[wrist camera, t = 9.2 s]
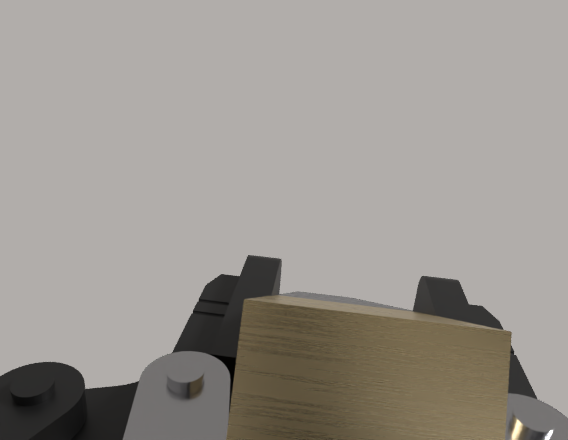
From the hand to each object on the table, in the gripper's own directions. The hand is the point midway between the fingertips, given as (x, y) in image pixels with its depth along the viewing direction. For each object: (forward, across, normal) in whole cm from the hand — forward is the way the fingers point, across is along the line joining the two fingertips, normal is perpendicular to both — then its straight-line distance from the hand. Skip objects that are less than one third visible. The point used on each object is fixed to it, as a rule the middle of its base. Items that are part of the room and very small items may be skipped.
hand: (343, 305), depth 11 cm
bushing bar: (+4, 0, +6) cm, 7 cm away
